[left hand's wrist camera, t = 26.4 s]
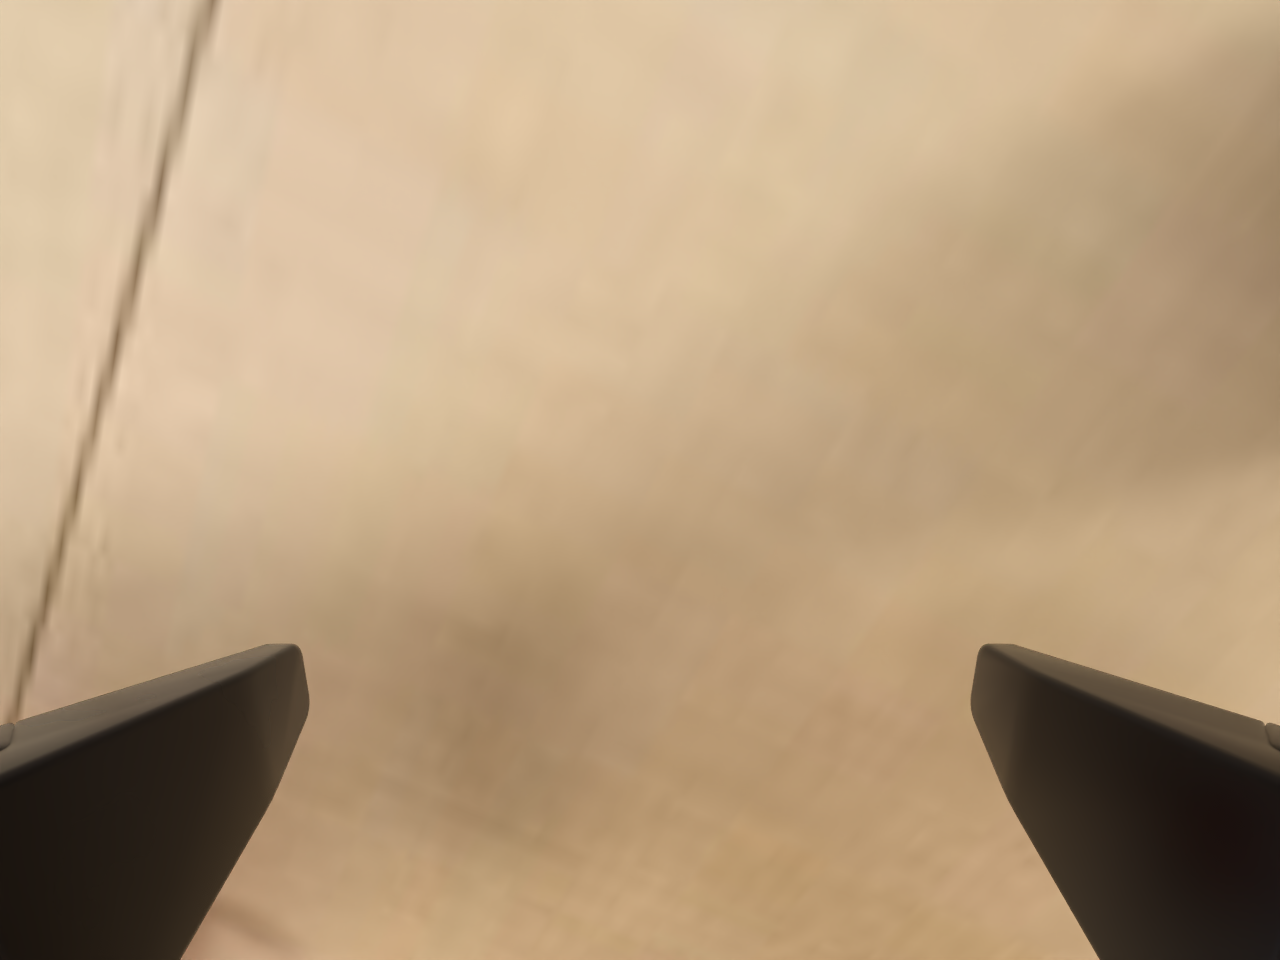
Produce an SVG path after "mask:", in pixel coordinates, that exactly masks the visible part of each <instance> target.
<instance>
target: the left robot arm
mask: <svg viewBox="0 0 1280 960" xmlns="http://www.w3.org/2000/svg"><path fill="white" fill-rule="evenodd" d="M308 711H309V693H308V687H307V680H306V674H305V668H304V662H303V656H302V653H301V650H300V648H299V647H298V646H297V645H295V644H266V645H263V646H259V647H256V648H253V649H250V650H247V651H243V652H240V653H237V654H234V655H230V656H227V657H224V658H221V659H218V660H214V661H211V662H208V663H205V664H201V665H198V666H195V667H192V668H188V669H185V670H182V671H179V672H176V673H172V674H169V675H166V676H163V677H159V678H156V679H153V680H150V681H147V682H143V683H140V684H137V685H134V686H130V687H127V688H124V689H121V690H117V691H114V692H111V693H108V694H105V695H101V696H98V697H95V698H92V699H88V700H85V701H82V702H79V703H76V704H72V705H69V706H66V707H63V708H59V709H56V710H53V711H50V712H46V713H43V714H40V715H37V716H34V717H30V718H27V719H24V720H21V721H18V722H17V723H16V725H15V726H14V724H13V723H7V724H4V725H1V726H0V960H180V959H181V957H182V956H183V954H184V952H185V951H186V949H187V947H188V945H189V944H190V942H191V940H192V938H193V937H194V935H195V933H196V932H197V930H198V928H199V926H200V925H201V923H202V921H203V919H204V918H205V916H206V914H207V912H208V911H209V909H210V907H211V906H212V904H213V902H214V900H215V899H216V897H217V895H218V893H219V892H220V890H221V888H222V886H223V885H224V883H225V881H226V880H227V878H228V876H229V874H230V873H231V871H232V869H233V867H234V866H235V864H236V862H237V860H238V859H239V857H240V855H241V854H242V852H243V850H244V848H245V847H246V845H247V843H248V841H249V840H250V838H251V836H252V835H253V833H254V831H255V829H256V828H257V826H258V824H259V822H260V821H261V819H262V817H263V815H264V814H265V812H266V810H267V808H268V806H269V804H270V803H271V801H272V799H273V797H274V794H275V792H276V790H277V788H278V786H279V783H280V781H281V779H282V776H283V774H284V771H285V769H286V767H287V764H288V762H289V759H290V757H291V755H292V752H293V750H294V747H295V745H296V743H297V740H298V738H299V735H300V733H301V731H302V728H303V726H304V723H305V721H306V718H307V715H308ZM971 711H972V715H973V718H974V721H975V723H976V726H977V728H978V731H979V733H980V735H981V738H982V740H983V743H984V745H985V747H986V750H987V752H988V755H989V757H990V759H991V762H992V764H993V767H994V769H995V771H996V774H997V776H998V779H999V781H1000V783H1001V786H1002V788H1003V790H1004V792H1005V794H1006V797H1007V799H1008V801H1009V803H1010V804H1011V806H1012V808H1013V810H1014V812H1015V814H1016V815H1017V817H1018V819H1019V821H1020V822H1021V824H1022V826H1023V828H1024V829H1025V831H1026V833H1027V835H1028V836H1029V838H1030V840H1031V841H1032V843H1033V845H1034V847H1035V848H1036V850H1037V852H1038V854H1039V855H1040V857H1041V859H1042V861H1043V862H1044V864H1045V866H1046V867H1047V869H1048V871H1049V873H1050V874H1051V876H1052V878H1053V880H1054V881H1055V883H1056V885H1057V886H1058V888H1059V890H1060V892H1061V893H1062V895H1063V897H1064V899H1065V900H1066V902H1067V904H1068V906H1069V907H1070V909H1071V911H1072V912H1073V914H1074V916H1075V918H1076V919H1077V921H1078V923H1079V925H1080V926H1081V928H1082V930H1083V932H1084V933H1085V935H1086V937H1087V938H1088V940H1089V942H1090V944H1091V945H1092V947H1093V949H1094V951H1095V952H1096V954H1097V956H1098V958H1099V959H1100V960H1280V726H1279V725H1276V724H1273V723H1267V724H1266V726H1265V725H1264V723H1263V722H1262V721H1259V720H1256V719H1253V718H1250V717H1246V716H1243V715H1240V714H1237V713H1234V712H1230V711H1227V710H1224V709H1221V708H1217V707H1214V706H1211V705H1208V704H1204V703H1201V702H1198V701H1195V700H1192V699H1188V698H1185V697H1182V696H1179V695H1175V694H1172V693H1169V692H1166V691H1163V690H1159V689H1156V688H1153V687H1150V686H1146V685H1143V684H1140V683H1137V682H1133V681H1130V680H1127V679H1124V678H1121V677H1117V676H1114V675H1111V674H1108V673H1104V672H1101V671H1098V670H1095V669H1092V668H1088V667H1085V666H1082V665H1079V664H1075V663H1072V662H1069V661H1066V660H1062V659H1059V658H1056V657H1053V656H1050V655H1046V654H1043V653H1040V652H1037V651H1033V650H1030V649H1027V648H1024V647H1020V646H1017V645H1014V644H985V645H983V646H982V647H981V648H980V650H979V653H978V656H977V662H976V668H975V674H974V680H973V687H972V693H971Z"/></svg>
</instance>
